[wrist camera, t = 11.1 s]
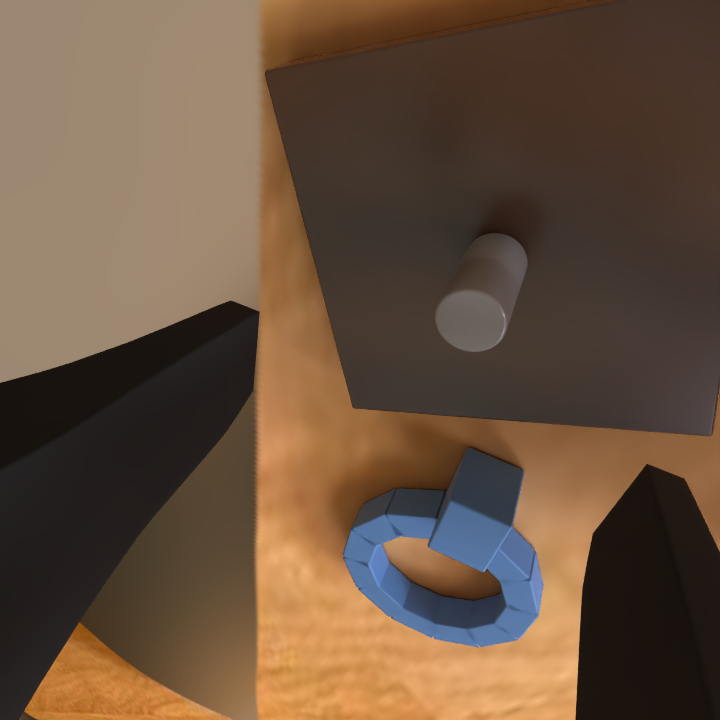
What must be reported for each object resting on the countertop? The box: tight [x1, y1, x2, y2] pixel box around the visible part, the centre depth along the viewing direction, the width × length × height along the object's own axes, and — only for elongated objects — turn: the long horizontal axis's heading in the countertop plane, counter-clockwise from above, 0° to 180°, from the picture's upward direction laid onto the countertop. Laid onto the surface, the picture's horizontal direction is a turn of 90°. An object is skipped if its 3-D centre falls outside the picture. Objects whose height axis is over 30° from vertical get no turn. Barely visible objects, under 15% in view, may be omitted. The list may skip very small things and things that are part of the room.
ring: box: [343, 447, 543, 647], centre depth 26 cm, size 12×9×3 cm
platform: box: [265, 0, 720, 436], centre depth 16 cm, size 12×12×5 cm
